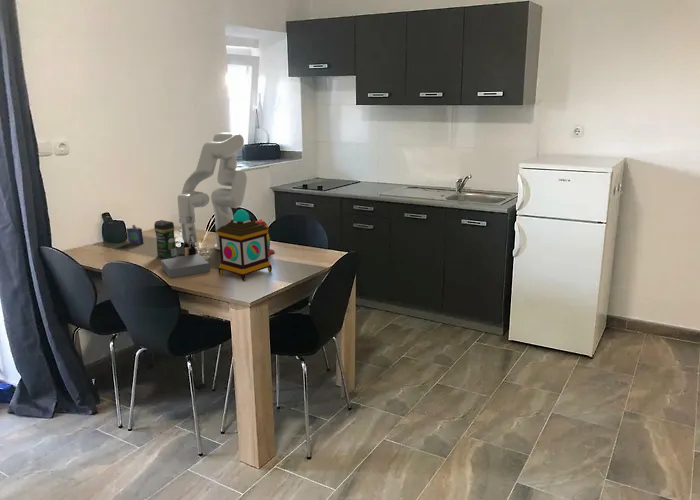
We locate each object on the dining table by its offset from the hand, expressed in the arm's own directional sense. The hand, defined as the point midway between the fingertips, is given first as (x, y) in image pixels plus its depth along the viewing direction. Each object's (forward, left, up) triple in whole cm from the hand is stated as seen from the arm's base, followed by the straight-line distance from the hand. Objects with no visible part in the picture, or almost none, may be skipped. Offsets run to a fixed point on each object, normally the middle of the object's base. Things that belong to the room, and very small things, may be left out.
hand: (190, 253), depth 288 cm
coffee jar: (+8, -14, -4) cm, 16 cm away
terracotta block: (-1, -1, -3) cm, 3 cm away
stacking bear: (-34, +10, -4) cm, 36 cm away
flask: (+17, -49, -4) cm, 52 cm away
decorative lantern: (-16, +35, -4) cm, 39 cm away
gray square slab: (+6, +14, -3) cm, 16 cm away
